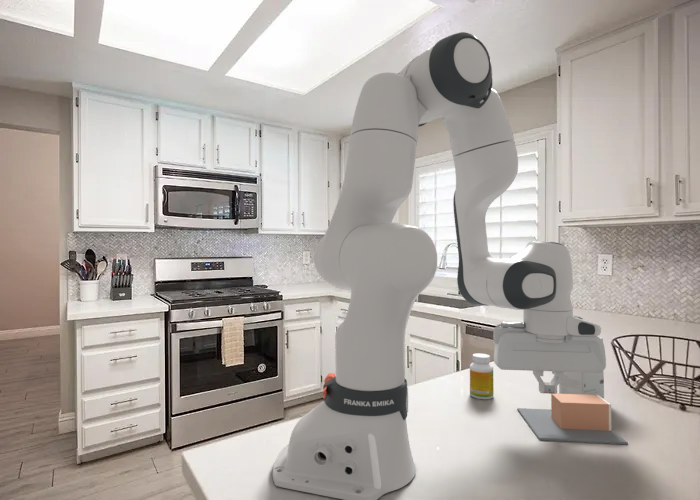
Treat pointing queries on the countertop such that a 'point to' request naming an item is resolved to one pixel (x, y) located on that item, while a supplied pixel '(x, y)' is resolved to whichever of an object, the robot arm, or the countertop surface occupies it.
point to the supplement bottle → (481, 377)
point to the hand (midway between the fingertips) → (547, 392)
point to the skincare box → (582, 383)
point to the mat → (551, 431)
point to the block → (581, 411)
